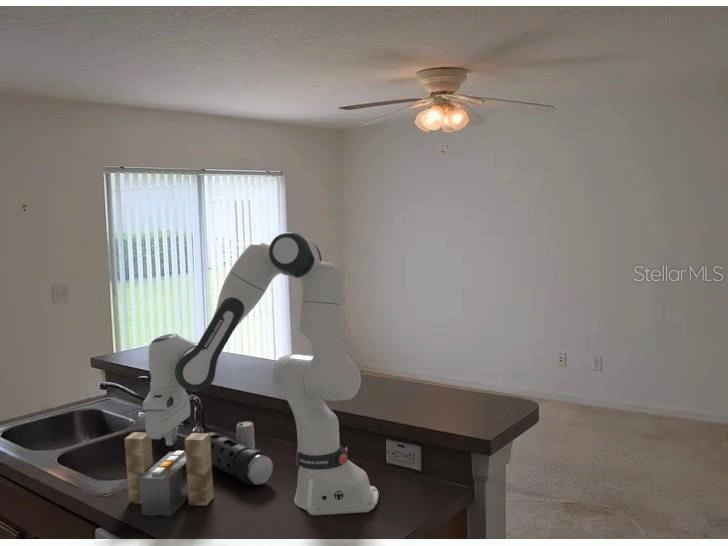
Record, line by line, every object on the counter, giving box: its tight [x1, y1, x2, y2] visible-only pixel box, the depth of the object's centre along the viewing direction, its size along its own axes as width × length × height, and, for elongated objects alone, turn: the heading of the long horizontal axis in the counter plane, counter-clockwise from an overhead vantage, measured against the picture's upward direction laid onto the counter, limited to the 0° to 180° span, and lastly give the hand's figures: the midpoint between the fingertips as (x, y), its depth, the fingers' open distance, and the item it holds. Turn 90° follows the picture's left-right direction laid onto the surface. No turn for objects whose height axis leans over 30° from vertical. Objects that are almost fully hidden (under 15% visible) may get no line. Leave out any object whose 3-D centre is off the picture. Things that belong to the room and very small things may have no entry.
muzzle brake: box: [209, 431, 274, 486], centre depth 190 cm, size 10×28×10 cm, turn 44°
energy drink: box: [235, 420, 256, 449], centre depth 200 cm, size 5×5×12 cm
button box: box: [139, 450, 188, 517], centre depth 175 cm, size 8×18×11 cm, turn 172°
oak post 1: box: [124, 431, 154, 502], centre depth 175 cm, size 5×5×18 cm
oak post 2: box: [184, 432, 214, 506], centre depth 173 cm, size 5×5×18 cm
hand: (171, 443), depth 176 cm, fingers closed
